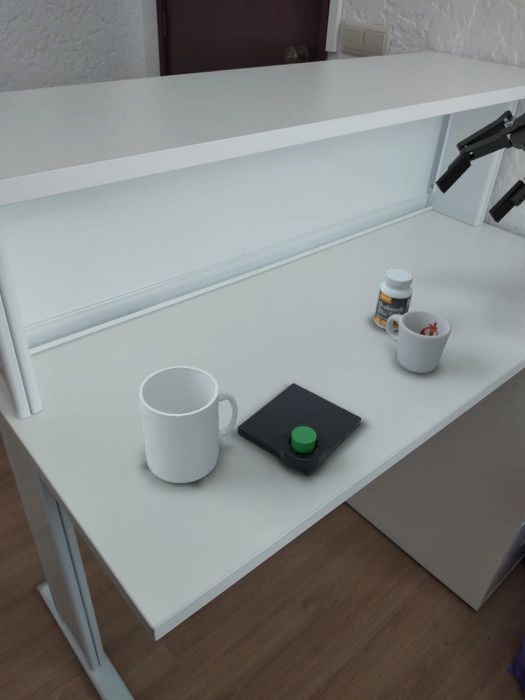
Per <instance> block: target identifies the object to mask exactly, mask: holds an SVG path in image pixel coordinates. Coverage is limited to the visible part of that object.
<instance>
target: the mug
mask: <svg viewBox="0 0 525 700" xmlns="http://www.w3.org/2000/svg"><path fill="white" fill-rule="evenodd" d="M138 398H139V405H140V406H139V407H140V414H141V425H142V434H143V442H144V452H145V458H146V463H147V466H148V468H149V470H150V471H151V473H152V474H153V475H154V476H156V478H159V479H161V480H162V481H164V482H168V483H173V484H187V483H193V482H196V481H198V480H200V479H203V478H205V477H206V476H207V475H209V474H210V473H211V472H212V471H213V470H214V468H215V467H216V466H217V463H218V461H219V451H220V442H221V441H222V440H223V439H224V438H225V437H227V436H228V435H230V434H231V432H232V431H233V430H234V428H235V426H236V423H237V420H238V403H237V400H236V398H235V396H234V395H233V394H232V393H230V392H229V391H227V390H224V389H222V388H219V384H218V381H217V380H216V379H215V378H214V376H213V375H212V374H210V373H209V372H208V371H206V370H203V369H202V368H199V367H195V366H188V365H175V366H167V367H165V368H162V369H159V370H158V369H157V370H156V371H154V372H152V373H150V374H149V375H148V376H147V377H146V378H145V379H144V380H143V381H142V383H141V384H140V386H139V389H138ZM226 400H227V401H228V402H229V403H230V406H231V409H232V411H231V418H230V421H229V423H227V425H226V426H225V427H223V428H222V429H220V409H219V407H220V406H219V405H220V404H219V403H220V402H223V401H226Z"/></svg>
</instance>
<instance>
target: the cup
mask: <svg viewBox="0 0 525 700" xmlns="http://www.w3.org/2000/svg"><path fill="white" fill-rule="evenodd" d="M394 321H396V322H397V323H398V325H399V330H398V334H397V333H396V332H395V330H393V322H394ZM385 331H386V335H387V336H388V338H389V339H390V340H392V341H393V342H394V343H397V344H396V359H397V362H398V363H399V365H400V366H401V367H402V368H404V369H405V370H406V371H409V372H411V373H417V374H426V373H430V372H431V371H433V370H434V369H436V368H437V366H438V365H439V362H440V359H441V357H442V354H443V352H444V350H445V348H446V345H447V343H448V341H449V338H450V335H451V333H452V326H451V323H450V322H449V321H448V319H446V317H443V316H442V315H441V314H438V313H435V312H432V311H428V310H422V309H421V310H420V309H419V310H410V311H408V312H407V313H405V314H404V315H398V314H395V315H392V316H390V317H389V318H388V320H387V323H386V329H385Z"/></svg>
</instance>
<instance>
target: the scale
mask: <svg viewBox="0 0 525 700" xmlns="http://www.w3.org/2000/svg"><path fill="white" fill-rule="evenodd" d="M361 422H362V417H361V416H359V415H357V414H355V413H353V412H352V411H349V410H347V409H345V408H343V407H341V406H339V405H337V404H335V403H333V402H331V401H330V400H328V399H326V398H324V397H322V396H320V395H318V394H316V393H314V392H312V391H310V390H308V389H307V388H304V387H302V386H300V385H299V384H297V383H295V382H293V383H291V384H290V385H289V386H287V387H286V388H285V389H284V390H283V391H281V392H280V393H278V394H277V395H276V396H274V398H272V399H271V400H270V401H268V403H266V404H265V405H264V406H262V407H261V408H260V409H258V410H256V412H254V413H253V414H252V415H250V417H248V418H247V419H246V420H244V421H243V422H242V423H241V424H239V425H238V426H237V435H239V436H241V437H242V438H244V439H246V440H247V441H249V442H251V443H252V444H254V445H255V446H256V447H259V448H261V449H262V450H263V451H265V452H267V453H269V454H270V455H272V456H274V457H276V458H277V459H279V460H280V461H282V462H284V463H285V464H286V465H289V466H290V467H292V468H293V469H295V470H297V471H299V472H300V473H302V474H303V475H305V476H307V477H309V476H310V475H312V474H313V473H314V471H315V470H316V469H317V468H318V467H319V466H320V465H321V464H322V463H323V462H324V461H325V460H327V458H328V457H330V455H331V454H332V453H333V452H334V451H336V450H337V448H338V447H339V446H340V445H341V444H342V443H343V442H344V441H345V440H346V439H347V438H348V437H349V436H350V435H351V434H352V433H354V431H355V430H356V429H357V428H358V427H359V426H360V425H361ZM300 426H306V427H309V428H311V429H313V430H314V431H315V432H316V435H317V437H316V445H315V448H314V450H313V451H311V452H309V453H300V452H297V451H295V450H294V449H293V448H292V446H291V436H292V431H293V430H294V429H295V428H297V427H300Z"/></svg>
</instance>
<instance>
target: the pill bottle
mask: <svg viewBox="0 0 525 700" xmlns="http://www.w3.org/2000/svg"><path fill="white" fill-rule="evenodd" d="M413 281H414V276H413V273H411V272H410V271H408V270H405V269H402V268H390V269H387V270H386V272H385V274H384V281H383V282H382V283H381V284H380V287H379V291H378V295H377V296H378V297H377V301H376V305H375V306H376V308H375V311H374V317H373V320H374V323H375V324H376V325H377V327H379V328H381V329H383V330H386V323H387V320H388V318H389V317H390V316H392V315H395V314H398V315H404V314H405V313H407V312H409V309H410V305H411V301H412V297H413V288H412V286H411V285H412V284H413ZM393 331H399V325H398V323H397V322H396V321H394V322H393Z"/></svg>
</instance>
